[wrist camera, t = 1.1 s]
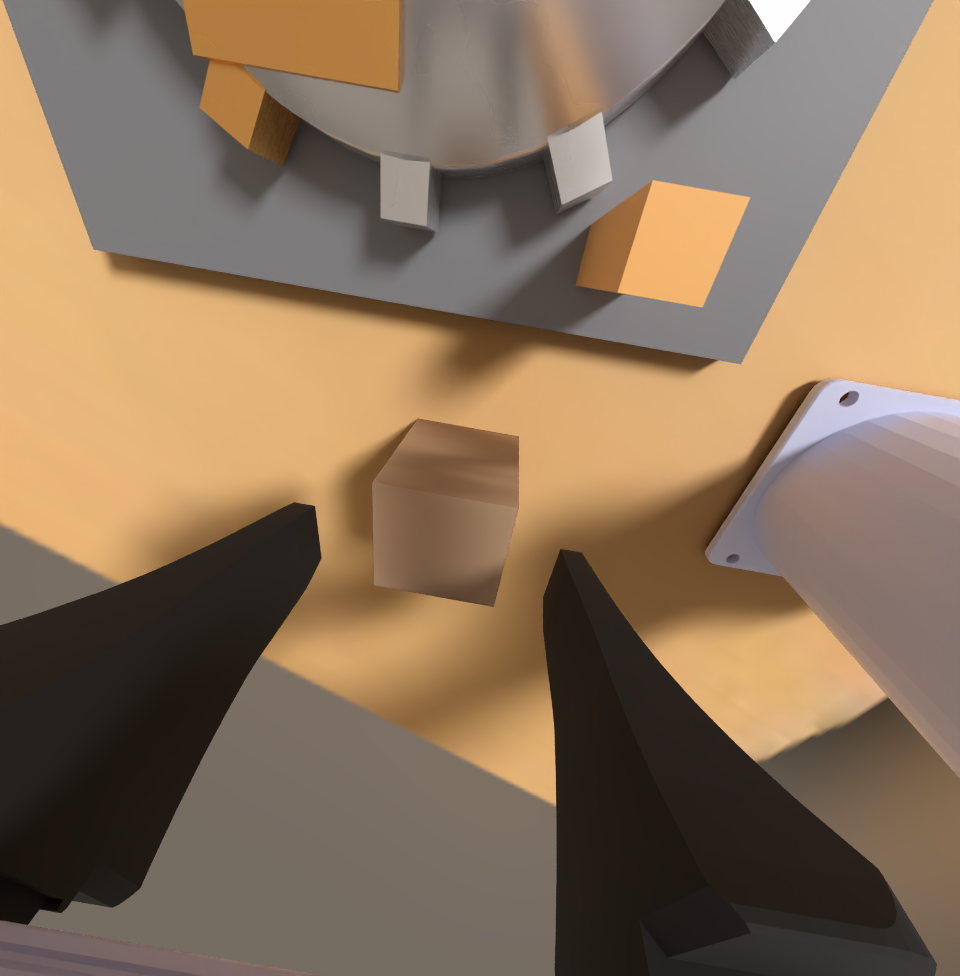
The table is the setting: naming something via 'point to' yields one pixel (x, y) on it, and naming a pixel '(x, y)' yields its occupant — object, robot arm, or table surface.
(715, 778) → the robot arm
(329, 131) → the sprocket
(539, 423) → the table surface
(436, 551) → the link block
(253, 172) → the base plate
